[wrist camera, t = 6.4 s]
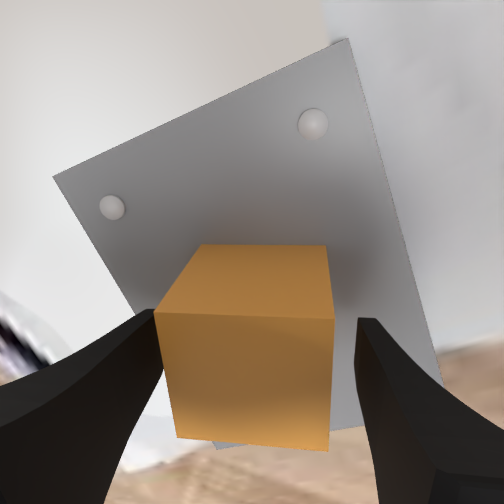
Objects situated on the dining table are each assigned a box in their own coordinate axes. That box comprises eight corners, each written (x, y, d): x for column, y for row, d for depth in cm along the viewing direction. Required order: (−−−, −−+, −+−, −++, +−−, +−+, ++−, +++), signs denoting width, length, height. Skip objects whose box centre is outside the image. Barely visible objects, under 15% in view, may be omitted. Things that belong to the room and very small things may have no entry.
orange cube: (325, 245, 14) (335, 319, 9) (321, 349, 16) (328, 451, 11) (201, 244, 15) (153, 312, 10) (212, 343, 16) (177, 437, 12)
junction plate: (443, 394, 17) (486, 488, 13) (220, 433, 20) (199, 518, 16) (345, 42, 12) (364, 14, 8) (67, 171, 15) (-21, 200, 11)
